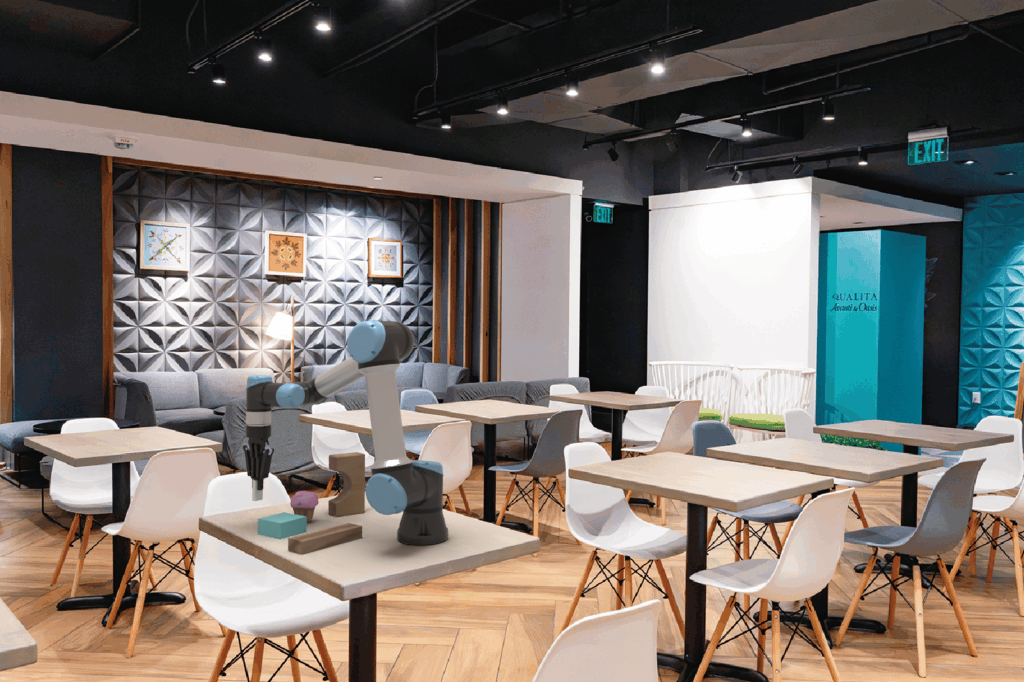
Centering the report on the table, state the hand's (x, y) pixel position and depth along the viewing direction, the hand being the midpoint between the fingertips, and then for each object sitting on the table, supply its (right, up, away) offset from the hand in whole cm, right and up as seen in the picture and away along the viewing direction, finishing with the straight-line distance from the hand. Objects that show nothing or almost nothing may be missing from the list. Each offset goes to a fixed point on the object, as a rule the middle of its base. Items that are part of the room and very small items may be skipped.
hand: (257, 500), depth 236 cm
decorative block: (+24, -9, +19) cm, 31 cm away
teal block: (+10, -9, -7) cm, 15 cm away
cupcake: (+13, -9, +7) cm, 17 cm away
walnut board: (+26, -9, -19) cm, 33 cm away
